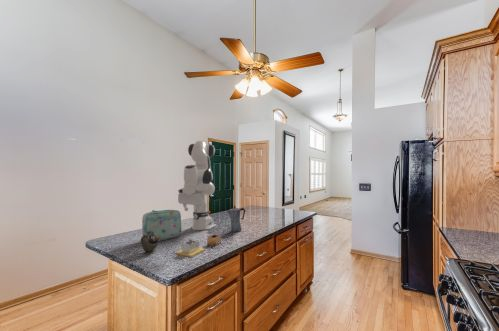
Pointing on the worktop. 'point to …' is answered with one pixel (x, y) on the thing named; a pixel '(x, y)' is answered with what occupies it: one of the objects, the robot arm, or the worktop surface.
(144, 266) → the worktop surface
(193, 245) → the link
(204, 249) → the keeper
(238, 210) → the moka pot
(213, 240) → the brown rounded piece
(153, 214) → the lunch box
